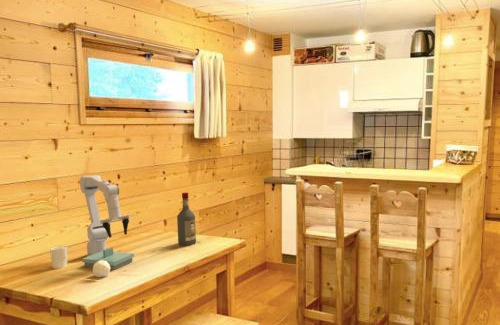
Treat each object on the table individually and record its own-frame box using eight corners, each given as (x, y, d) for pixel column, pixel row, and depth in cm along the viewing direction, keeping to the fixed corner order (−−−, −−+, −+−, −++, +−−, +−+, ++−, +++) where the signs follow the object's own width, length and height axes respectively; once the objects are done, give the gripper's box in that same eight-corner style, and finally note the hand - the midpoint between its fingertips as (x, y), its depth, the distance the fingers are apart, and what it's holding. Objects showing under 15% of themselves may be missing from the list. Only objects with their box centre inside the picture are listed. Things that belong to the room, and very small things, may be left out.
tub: (84, 268, 226) (84, 260, 226) (103, 260, 239) (103, 252, 239) (114, 271, 219) (114, 263, 219) (132, 263, 232) (132, 255, 232)
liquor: (176, 244, 268) (173, 193, 266) (186, 241, 276) (184, 191, 274) (188, 246, 263) (186, 194, 261) (198, 242, 271) (196, 192, 269)
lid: (82, 262, 226) (81, 251, 225) (103, 254, 240) (102, 243, 239) (114, 265, 218) (113, 254, 218) (134, 256, 232) (133, 246, 232)
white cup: (71, 265, 231) (70, 246, 230) (60, 270, 223) (59, 250, 223) (59, 264, 233) (57, 245, 233) (47, 269, 226) (46, 249, 225)
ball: (97, 283, 211) (88, 268, 212) (112, 273, 215) (104, 259, 217) (98, 279, 205) (89, 264, 206) (114, 269, 209) (105, 255, 211)
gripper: (96, 211, 225) (101, 239, 223) (126, 206, 225) (130, 233, 224) (101, 211, 232) (105, 238, 230) (129, 206, 232) (134, 233, 231)
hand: (118, 236), depth 227 cm, fingers open, 7 cm apart
